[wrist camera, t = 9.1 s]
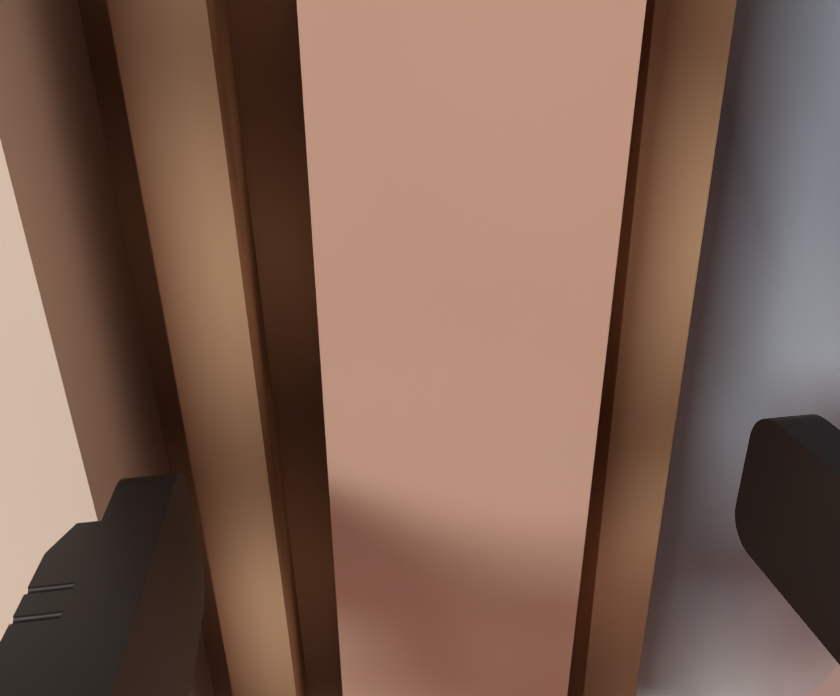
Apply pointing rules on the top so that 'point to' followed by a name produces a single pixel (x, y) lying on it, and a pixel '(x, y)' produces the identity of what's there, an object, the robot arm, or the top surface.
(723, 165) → the top surface
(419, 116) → the clay strip
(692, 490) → the top surface
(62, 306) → the strip
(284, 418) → the rack
